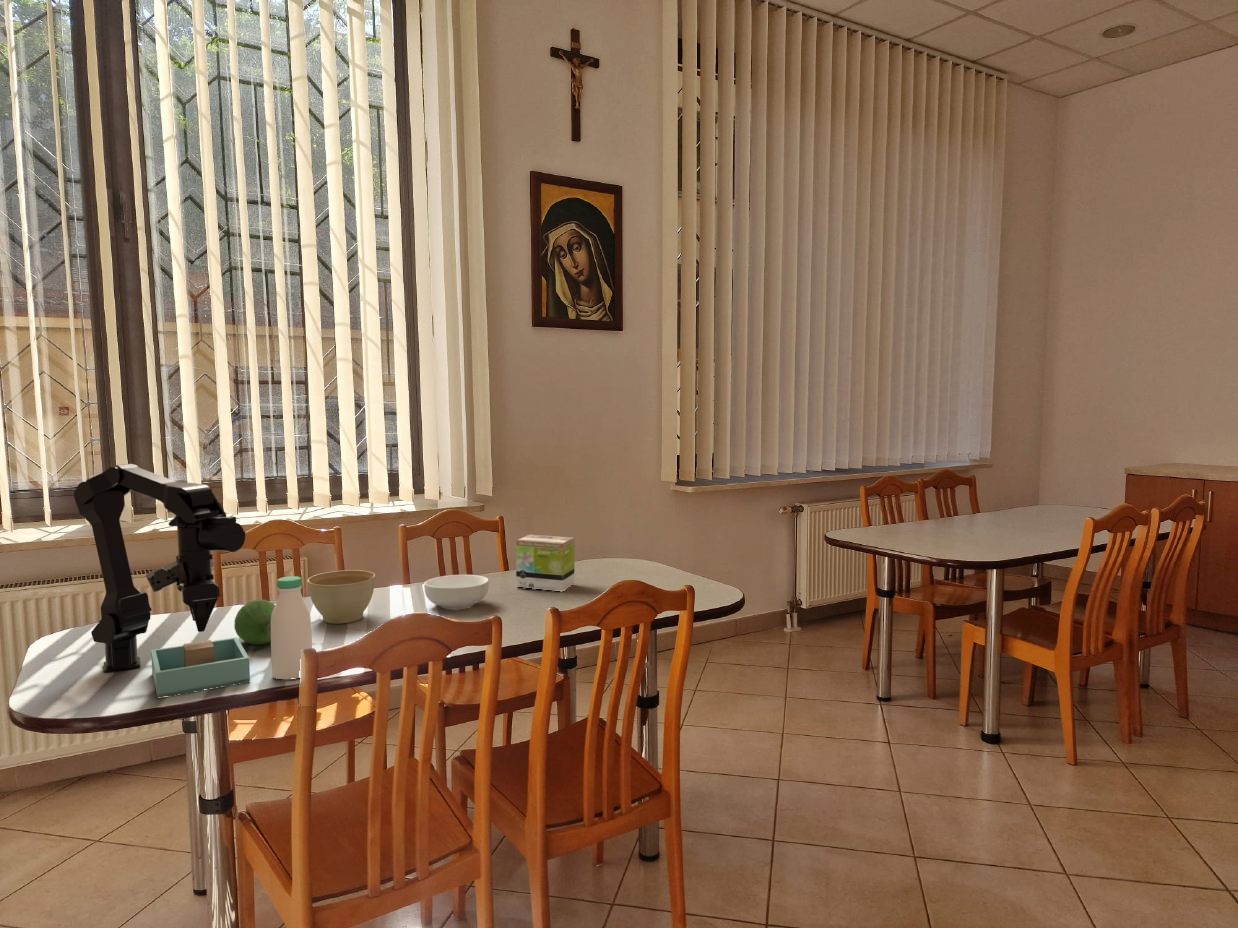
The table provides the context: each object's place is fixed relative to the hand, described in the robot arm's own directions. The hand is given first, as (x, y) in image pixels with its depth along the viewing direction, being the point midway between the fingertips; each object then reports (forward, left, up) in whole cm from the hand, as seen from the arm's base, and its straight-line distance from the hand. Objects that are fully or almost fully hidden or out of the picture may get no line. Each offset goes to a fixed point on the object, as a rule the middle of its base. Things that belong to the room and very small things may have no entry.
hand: (198, 625), depth 161 cm
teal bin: (0, 0, -11) cm, 11 cm away
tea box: (-30, +94, -11) cm, 99 cm away
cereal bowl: (-24, +64, -11) cm, 69 cm away
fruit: (-17, +14, -11) cm, 25 cm away
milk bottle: (+8, +16, -11) cm, 21 cm away
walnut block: (0, 0, -10) cm, 10 cm away
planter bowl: (-28, +35, -11) cm, 46 cm away
